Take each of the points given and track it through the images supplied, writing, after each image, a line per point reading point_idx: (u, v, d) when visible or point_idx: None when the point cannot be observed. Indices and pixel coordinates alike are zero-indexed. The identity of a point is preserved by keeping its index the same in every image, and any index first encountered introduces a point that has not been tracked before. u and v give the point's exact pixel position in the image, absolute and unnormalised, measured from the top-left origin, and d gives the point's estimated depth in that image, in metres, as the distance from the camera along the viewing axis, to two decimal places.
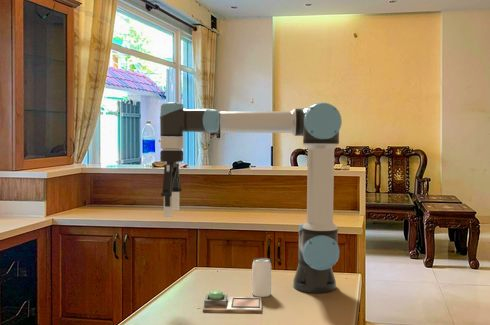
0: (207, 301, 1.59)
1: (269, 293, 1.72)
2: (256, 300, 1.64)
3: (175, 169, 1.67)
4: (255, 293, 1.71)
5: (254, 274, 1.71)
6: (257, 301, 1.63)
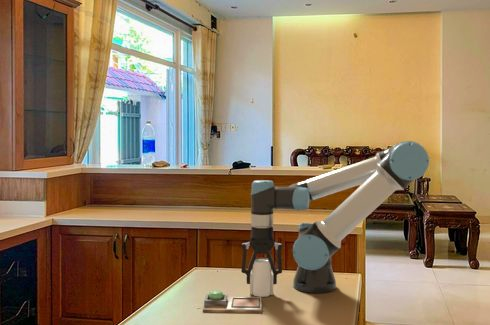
0: (207, 301, 1.59)
1: (269, 293, 1.72)
2: (256, 300, 1.64)
3: (256, 246, 1.72)
4: (255, 293, 1.71)
5: (254, 274, 1.71)
6: (257, 301, 1.63)
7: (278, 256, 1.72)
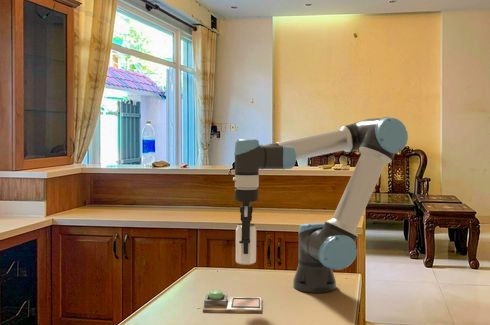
0: (207, 301, 1.59)
1: None
2: (256, 300, 1.64)
3: (250, 210, 1.58)
4: (253, 260, 1.59)
5: (252, 240, 1.58)
6: (257, 301, 1.63)
7: None
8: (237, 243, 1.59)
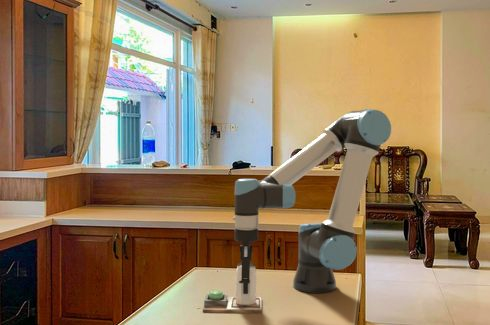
0: (207, 301, 1.59)
1: None
2: (256, 300, 1.64)
3: (250, 249, 1.59)
4: (253, 301, 1.60)
5: (252, 281, 1.59)
6: (257, 301, 1.63)
7: None
8: (237, 284, 1.60)
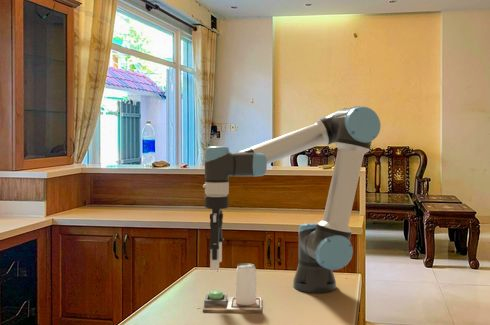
0: (207, 301, 1.59)
1: None
2: (256, 300, 1.64)
3: (220, 216, 1.59)
4: (253, 301, 1.60)
5: (252, 281, 1.59)
6: (257, 301, 1.63)
7: None
8: (237, 284, 1.60)
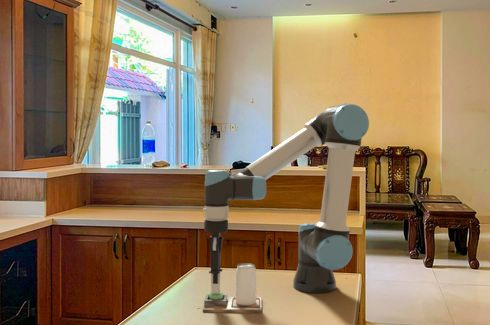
0: (207, 301, 1.59)
1: None
2: (256, 300, 1.64)
3: (220, 241, 1.59)
4: (253, 301, 1.60)
5: (252, 281, 1.59)
6: (257, 301, 1.63)
7: None
8: (237, 284, 1.60)
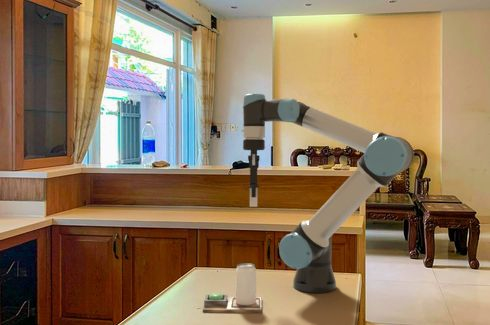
0: (207, 301, 1.59)
1: None
2: (256, 300, 1.64)
3: (257, 158, 1.76)
4: (253, 301, 1.60)
5: (252, 281, 1.59)
6: (257, 301, 1.63)
7: None
8: (237, 284, 1.60)
